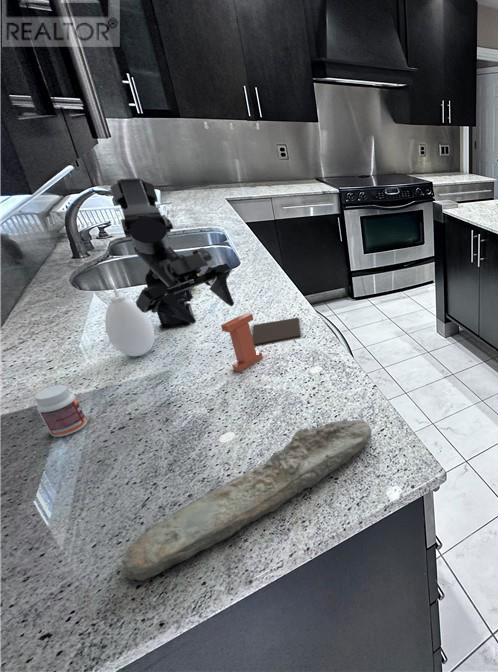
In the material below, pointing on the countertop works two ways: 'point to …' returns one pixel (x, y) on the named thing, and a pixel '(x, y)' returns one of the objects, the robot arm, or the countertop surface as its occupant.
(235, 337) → the letter I
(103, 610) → the countertop surface
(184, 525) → the long grey stone
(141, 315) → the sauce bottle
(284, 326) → the dark brown square tile
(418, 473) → the countertop surface
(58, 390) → the pill bottle
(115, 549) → the countertop surface
